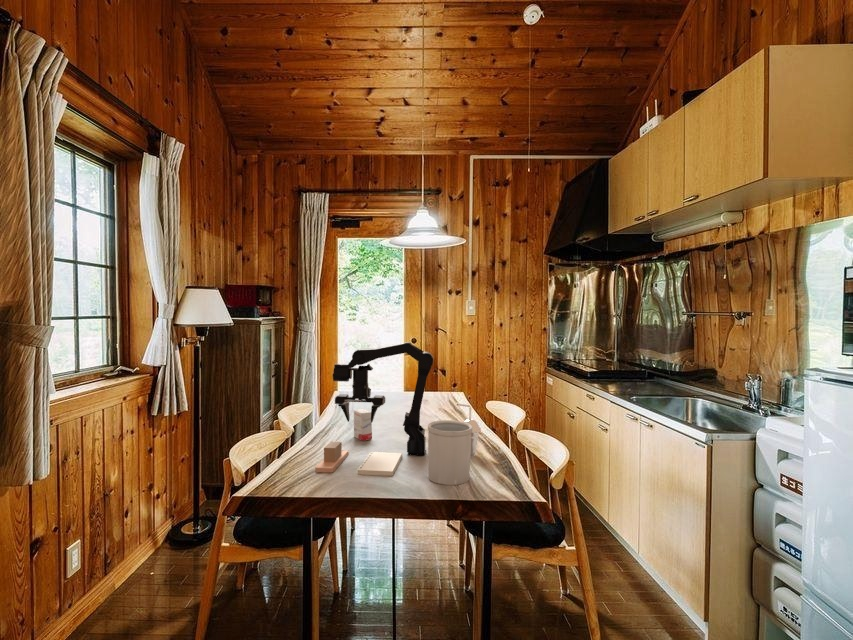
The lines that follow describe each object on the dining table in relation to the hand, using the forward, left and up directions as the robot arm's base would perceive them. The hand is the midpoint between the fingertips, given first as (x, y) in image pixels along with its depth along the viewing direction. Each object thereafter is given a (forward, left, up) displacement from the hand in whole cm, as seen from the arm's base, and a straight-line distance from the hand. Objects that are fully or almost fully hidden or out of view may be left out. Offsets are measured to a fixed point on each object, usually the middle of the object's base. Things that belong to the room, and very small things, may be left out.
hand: (360, 421), depth 181 cm
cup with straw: (-42, -3, -12) cm, 44 cm away
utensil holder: (-36, +22, -12) cm, 44 cm away
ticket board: (-11, +13, -12) cm, 21 cm away
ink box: (+4, -20, -12) cm, 24 cm away
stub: (+7, +13, -12) cm, 19 cm away
